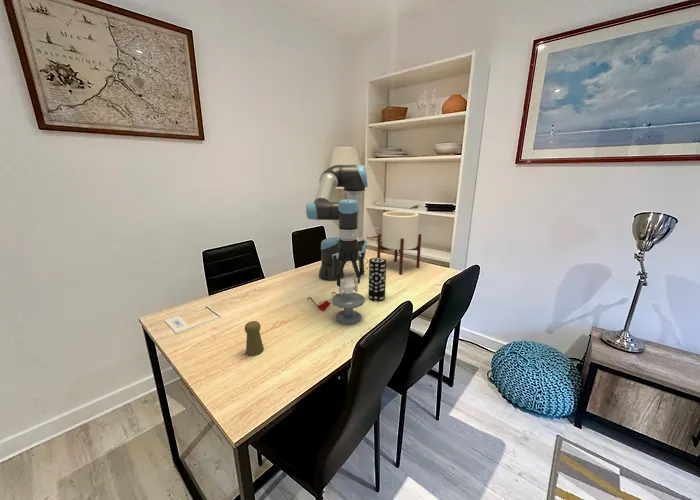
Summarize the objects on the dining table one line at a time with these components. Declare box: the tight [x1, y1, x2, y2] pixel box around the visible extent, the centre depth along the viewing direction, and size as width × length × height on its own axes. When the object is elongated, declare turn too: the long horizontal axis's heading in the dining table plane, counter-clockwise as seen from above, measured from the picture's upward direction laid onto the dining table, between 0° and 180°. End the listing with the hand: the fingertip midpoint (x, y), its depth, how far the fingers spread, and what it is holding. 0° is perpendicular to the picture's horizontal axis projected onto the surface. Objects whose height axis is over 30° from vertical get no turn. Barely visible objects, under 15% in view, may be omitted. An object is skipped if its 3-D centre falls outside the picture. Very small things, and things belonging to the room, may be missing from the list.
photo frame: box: [164, 305, 223, 335], centre depth 122 cm, size 15×1×18 cm
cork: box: [244, 320, 265, 357], centre depth 99 cm, size 6×6×11 cm
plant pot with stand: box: [376, 210, 422, 276], centre depth 183 cm, size 22×22×36 cm
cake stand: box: [331, 291, 366, 325], centre depth 122 cm, size 14×14×9 cm
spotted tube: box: [368, 257, 387, 303], centre depth 140 cm, size 8×8×20 cm
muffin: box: [342, 276, 356, 294], centre depth 119 cm, size 6×6×7 cm
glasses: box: [306, 291, 337, 312], centre depth 137 cm, size 14×16×5 cm
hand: (348, 291), depth 120 cm, fingers closed on muffin, 6 cm apart
